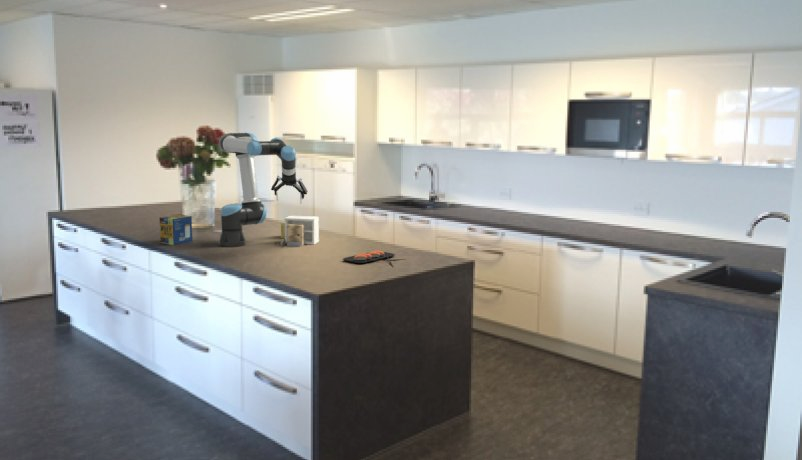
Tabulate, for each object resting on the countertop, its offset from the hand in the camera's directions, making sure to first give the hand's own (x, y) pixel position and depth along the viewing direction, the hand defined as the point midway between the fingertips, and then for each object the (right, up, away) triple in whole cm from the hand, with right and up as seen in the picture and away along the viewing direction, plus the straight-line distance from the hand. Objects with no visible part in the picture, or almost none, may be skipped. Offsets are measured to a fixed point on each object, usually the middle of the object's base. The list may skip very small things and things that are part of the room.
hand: (289, 200), depth 384 cm
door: (+2, -26, +8) cm, 27 cm away
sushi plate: (+53, -34, -31) cm, 70 cm away
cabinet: (+4, -25, +14) cm, 28 cm away
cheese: (-5, -22, +33) cm, 40 cm away
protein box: (-68, -24, +12) cm, 73 cm away
